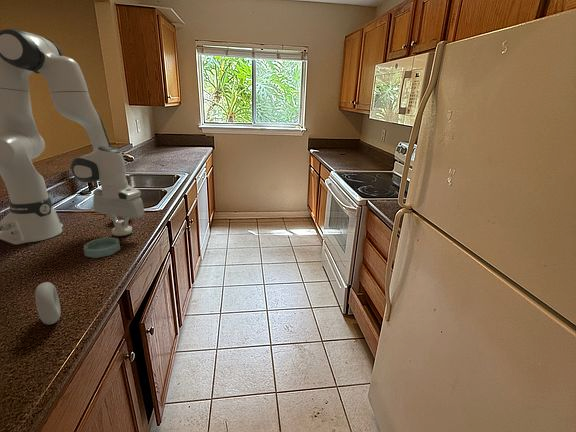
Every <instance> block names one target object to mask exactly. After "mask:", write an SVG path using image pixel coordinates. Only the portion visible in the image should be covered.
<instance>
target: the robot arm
mask: <svg viewBox="0 0 576 432" xmlns="http://www.w3.org/2000/svg"><path fill="white" fill-rule="evenodd" d="M32 73H35V74H41V75H42V76H43V77H44V79H45V80H46V84H47V86H48V91H49V95H50V97H51V101H52V102H51V103H52V105H53V106H54V109H55V110H56V111H57V112H58V113H59V114H60V115H61V116H62V117H64V118H66V119H68V120H70V121H72V122H75V123H76V124H79V125H81V127H83V128H84V129H85V132H86V133H87V136H88V139H89V141H90V143H91V146H92V149H93V151H92V152H90V153H87V154H85V155H81V156H78V157H75V158H74V159H73V160H72V161H71V164H70V170H71V171H70V172H71V173H72V175H73V177H74V178H75V179H76V180H77V181H79V182H82V183H83V184H84V183H85V184H86V183H94V182H99V183H100V187H101V189H100V188H96V189H95V190H94V191H93V194H92V195H93V202H92V203H93V208H94V209H93V210H94V211H95V213H97V214H98V213H99V214H104V215H105V214H106V215H109V217H110V219H111V221H112V222H113V224H114V223H116V222H118V221H120V220H121V219H118V218H117V217H116V215H117V216H123V219H124V222H122V226H124V227H127V226H129V221H130V217H131V218H132V219H139V218H142V217H143V216H144V215H145V209H144V208H145V207H144V202H143V200H142V198H141V197H140V196H141V195H142V192H141V190H140V189H137V188H135V187H133V186H131V184H129V182H128V179H127V176H126V175H127V168H126V163H125V159H124V155H123V153H122V152H121V150H120V149H118V148H116V147H114V146H112V145H111V143H110V139H109V137H108V134H107V131H106V128H105V126H104V123H103V120H102V118H101V115H100V114H99V112H97V110H96V109H95V106H94V105H93V102H92V100H91V97H90V93H89V89H88V85H87V82H86V79H85V76H84V73H83V71H82V69H81V67H80V64H79V63H78V62H77V61H76V60H74V59H73V58H71V57H69V56H65V55H64V54H63V52H62V50H61V49H60V47H59V46H58V45H57V44H56V43H55V42H53V41H52V40H50V39H49V38H47V37H43V36H41V35H39V34H36V33H34V32H30V31H29V32H27V31H24V30H20V29H15V28H5V29H1V30H0V177H1V179H2V181H3V182H4V185H5V187H6V190H7V194H8V197H9V200H10V202H7V203H6V206H7V207H9V213H7V214H6V215H5V216H4V217H3V218H2V219H1V220H0V229H1V230H0V240H2V241H4V242H7V243H9V244H13V245H14V246H15V245H16V246H17V245H21V244H25V243H32V242H33V243H34V242H35V243H36V242H39V241H44V240H48V239H51V238H54V237H56V236H58V235H60V234H62V232H63V227H64V224H63V223H61V222H60V219H59V216H58V213H57V211H56V209H55V208H54V207H53V204H52V203H53V202H52V198H51V197H50V196H49V194H48V189H47V185H46V183H45V178H44V177H43V175H41V174H40V173H39V172H38V171H37V170H36V167H35V165H34V164H33V161H32V160H35V159H36V158H38V157H39V156H41V154H42V153H44V151H45V149H46V142H45V140H44V137H43V136H42V135H41V134H40V132H39V130H38V126H37V125H36V122H35V119H34V115H33V108H32V100H31V93H30V92H31V91H30V83H29V82H30V81H29V78H30V75H31V74H32Z"/></svg>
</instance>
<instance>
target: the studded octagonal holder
mask: <svg viewBox="0 0 576 432" xmlns="http://www.w3.org/2000/svg"><path fill="white" fill-rule="evenodd" d="M120 250H121V245H120V240H119V238H117V237H111V236H110V237H109V236H106V237H101V238H95V239H93V240H90V241H89V242H85V244H83V253H84V254H83V255H84V256H85V257H88V258H93V259H97V258H102V257H103V258H104V257H107V256H112V255H114V254H116V253H117V252H119V251H120Z"/></svg>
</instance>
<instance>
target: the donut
mask: <svg viewBox="0 0 576 432" xmlns="http://www.w3.org/2000/svg"><path fill="white" fill-rule="evenodd" d="M34 292H35V293H34V300H35V306H36V310H37V313H38V317H39V319H40V320H41V322H42V323H43V324H45V325H48V326H49V325H53V324H55V323H57V322H58V321H59V320H60V318H61V313H62V311H61V303H60V297H59V295H58V292H57V288H56V286H55V285H54V284H53V283H52V282H50V281H46V282H42V283H39V284H38V285H37V287H36V289H35V290H34Z"/></svg>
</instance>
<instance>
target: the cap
mask: <svg viewBox="0 0 576 432" xmlns="http://www.w3.org/2000/svg"><path fill="white" fill-rule="evenodd" d="M119 220H120V221H118V222H116V223H113V226H114V227H113V228H112V229H111V233H112V235H113V236H115V237H123V236H127V235H130V234H131V233H133V227H132V226H131V225H128V226H127V227H124V226H122V222H124V220H122V219H119Z"/></svg>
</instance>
